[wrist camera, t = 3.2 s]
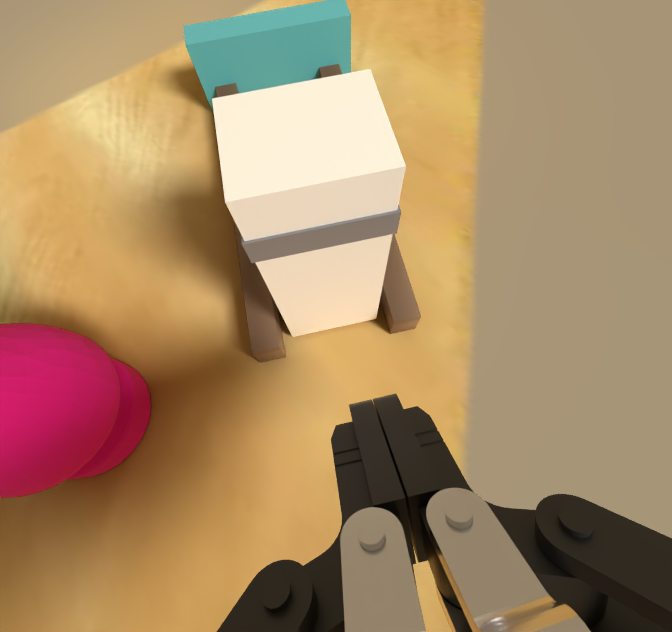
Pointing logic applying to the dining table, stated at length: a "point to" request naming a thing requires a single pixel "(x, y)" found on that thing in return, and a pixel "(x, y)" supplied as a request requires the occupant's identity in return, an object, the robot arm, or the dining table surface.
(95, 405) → the pepper mill
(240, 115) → the sleeve
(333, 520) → the dining table surface
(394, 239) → the guide rails
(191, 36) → the teal rectangular block
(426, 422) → the robot arm
